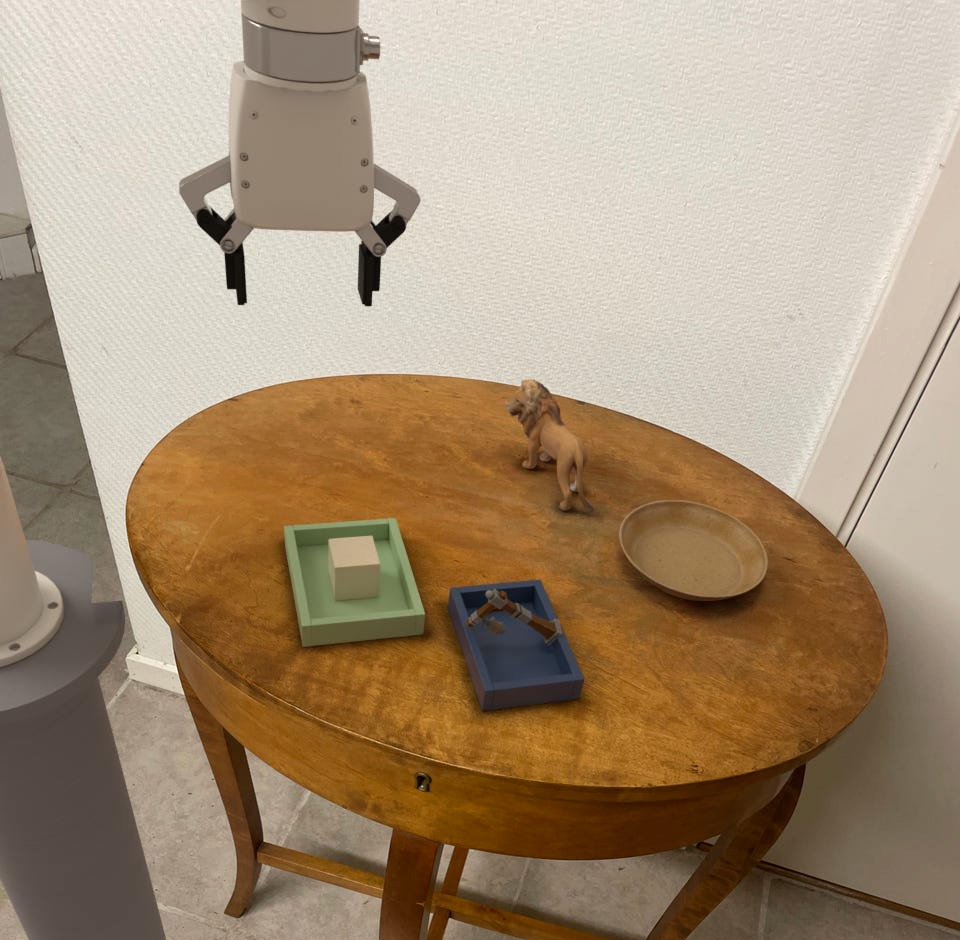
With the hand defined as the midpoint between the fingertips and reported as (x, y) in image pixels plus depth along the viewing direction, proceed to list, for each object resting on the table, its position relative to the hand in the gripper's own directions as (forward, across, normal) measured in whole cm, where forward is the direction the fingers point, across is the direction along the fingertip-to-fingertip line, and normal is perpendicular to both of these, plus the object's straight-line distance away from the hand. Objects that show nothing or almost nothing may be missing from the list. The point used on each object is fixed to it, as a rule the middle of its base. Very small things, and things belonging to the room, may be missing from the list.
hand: (303, 298), depth 75 cm
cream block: (+24, -4, +8) cm, 25 cm away
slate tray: (+24, -16, +18) cm, 34 cm away
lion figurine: (+24, -26, -8) cm, 36 cm away
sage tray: (+24, -3, +8) cm, 26 cm away
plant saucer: (+24, -37, +8) cm, 45 cm away
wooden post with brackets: (+22, -16, +18) cm, 32 cm away
